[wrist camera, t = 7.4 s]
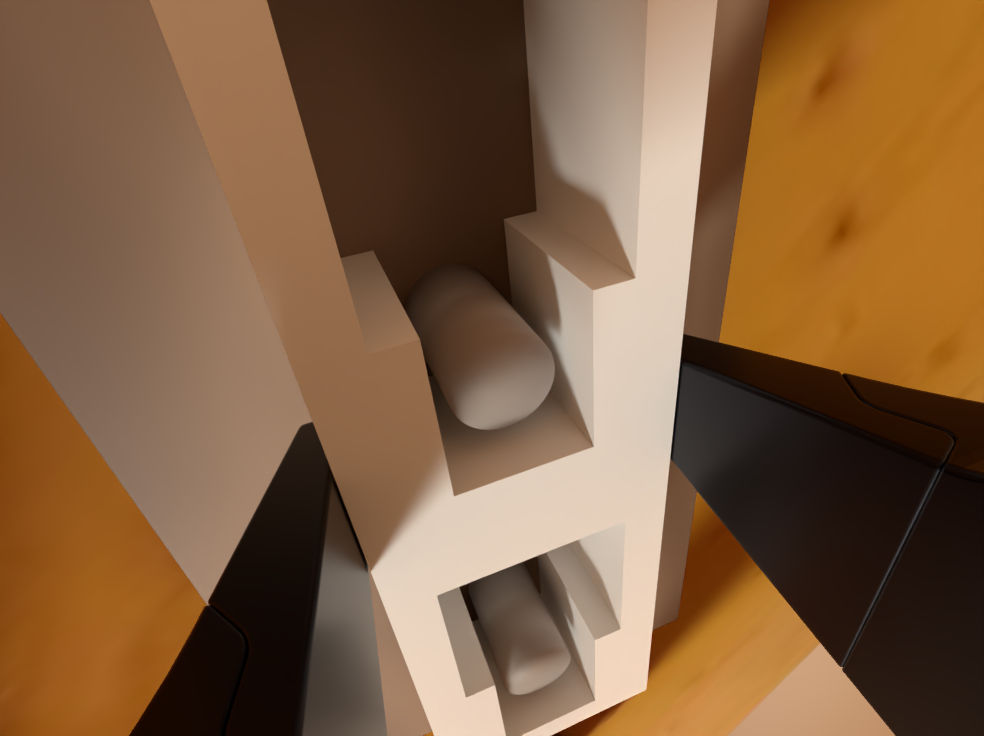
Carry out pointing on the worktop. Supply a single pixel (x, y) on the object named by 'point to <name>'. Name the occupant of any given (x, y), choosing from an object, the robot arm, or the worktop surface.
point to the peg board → (357, 229)
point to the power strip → (542, 305)
